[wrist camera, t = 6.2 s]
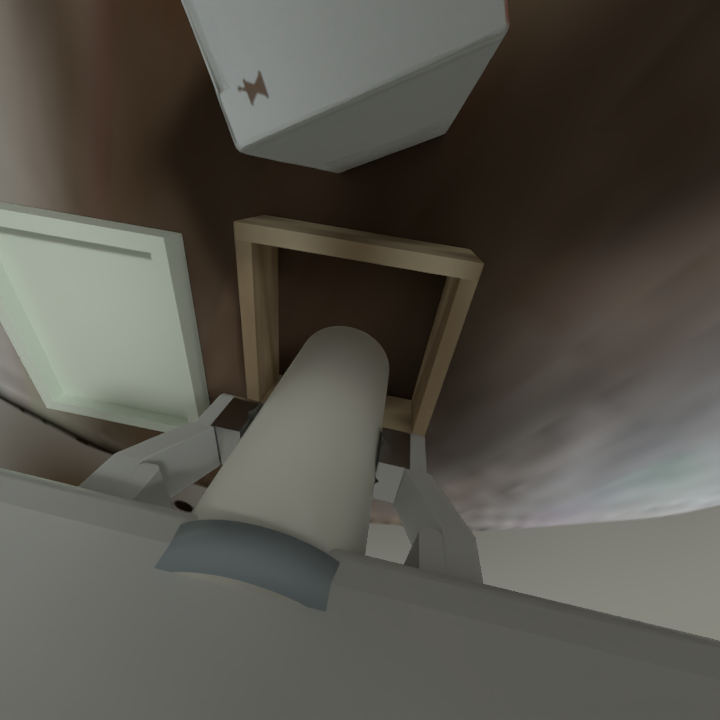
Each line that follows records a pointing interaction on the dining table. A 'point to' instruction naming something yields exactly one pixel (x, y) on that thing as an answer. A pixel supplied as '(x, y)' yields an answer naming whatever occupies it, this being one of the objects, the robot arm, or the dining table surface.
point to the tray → (102, 317)
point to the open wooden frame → (269, 232)
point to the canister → (295, 478)
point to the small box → (343, 72)
